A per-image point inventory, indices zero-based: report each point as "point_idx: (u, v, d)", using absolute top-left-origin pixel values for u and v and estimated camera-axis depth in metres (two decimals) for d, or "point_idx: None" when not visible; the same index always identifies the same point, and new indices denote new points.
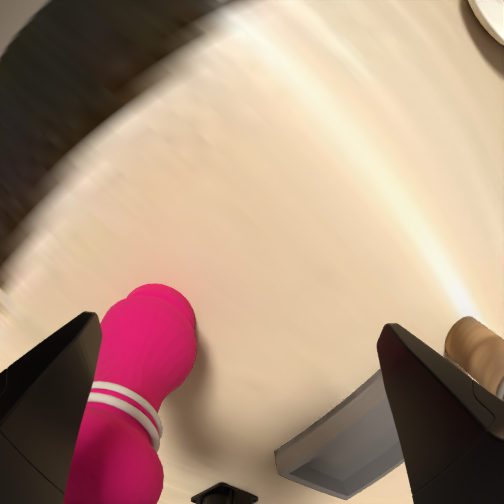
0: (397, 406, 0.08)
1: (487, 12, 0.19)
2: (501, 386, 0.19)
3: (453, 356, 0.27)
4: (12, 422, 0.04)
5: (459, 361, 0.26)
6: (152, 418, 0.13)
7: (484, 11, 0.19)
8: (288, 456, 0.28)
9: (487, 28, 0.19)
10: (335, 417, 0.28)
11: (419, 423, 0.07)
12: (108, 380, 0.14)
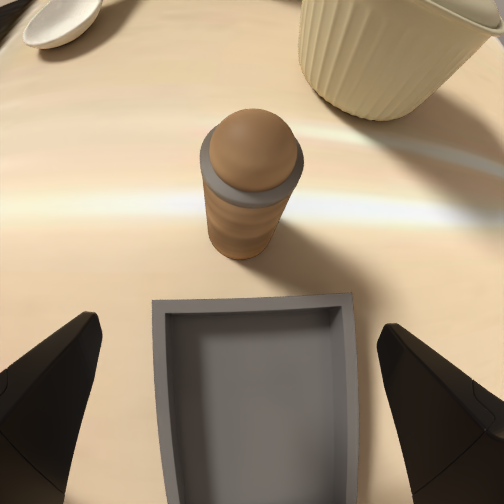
0: (397, 406, 0.08)
1: (59, 35, 0.29)
2: (209, 186, 0.14)
3: (233, 252, 0.22)
4: (11, 422, 0.04)
5: (231, 246, 0.21)
6: None
7: None
8: None
9: (51, 45, 0.27)
10: None
11: (419, 423, 0.07)
12: None
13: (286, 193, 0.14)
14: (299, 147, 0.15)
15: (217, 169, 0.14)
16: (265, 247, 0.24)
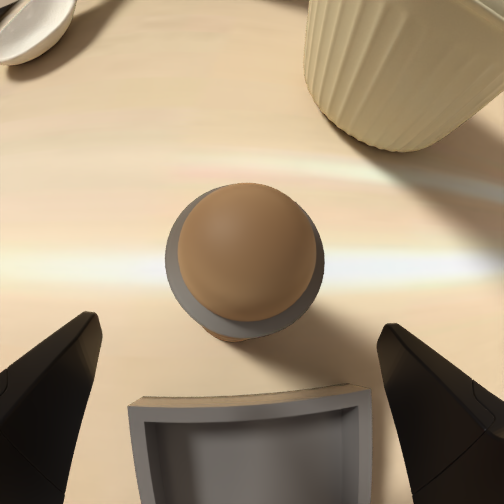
0: (397, 406, 0.08)
1: None
2: None
3: (225, 339, 0.17)
4: (12, 422, 0.04)
5: (222, 338, 0.16)
6: None
7: None
8: None
9: (16, 61, 0.22)
10: None
11: (419, 423, 0.07)
12: None
13: (298, 318, 0.09)
14: (317, 237, 0.10)
15: (190, 290, 0.09)
16: None
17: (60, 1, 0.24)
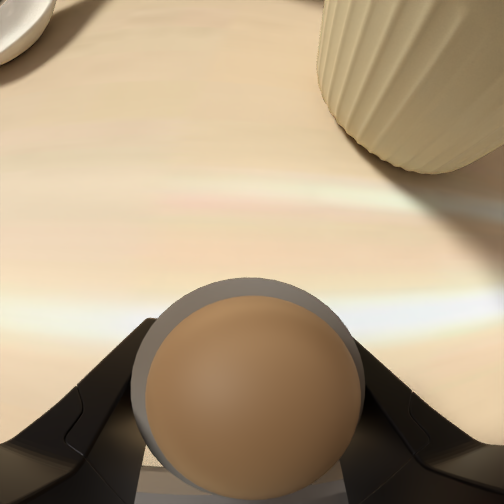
0: None
1: None
2: None
3: None
4: (94, 446, 0.05)
5: None
6: None
7: None
8: None
9: None
10: None
11: None
12: None
13: None
14: (358, 359, 0.06)
15: None
16: None
17: None
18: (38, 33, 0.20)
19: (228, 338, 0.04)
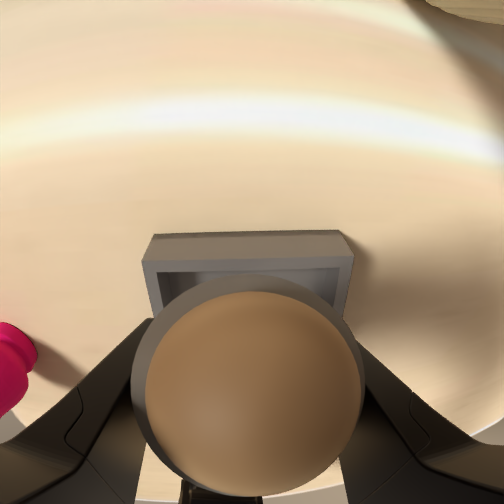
0: None
1: None
2: None
3: None
4: (94, 446, 0.05)
5: None
6: None
7: None
8: None
9: None
10: None
11: (353, 435, 0.07)
12: None
13: None
14: (358, 355, 0.06)
15: None
16: None
17: None
18: None
19: (228, 332, 0.04)
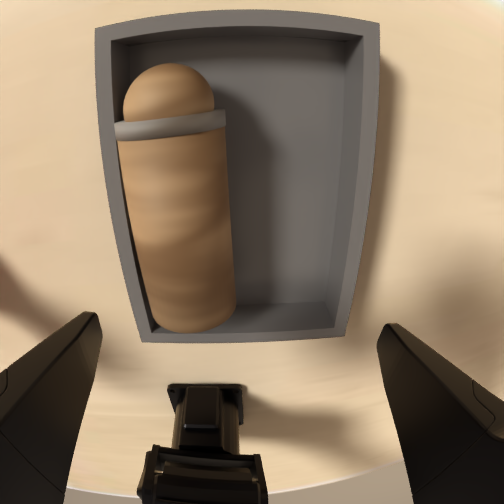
0: (397, 406, 0.08)
1: None
2: None
3: (146, 291, 0.16)
4: (11, 422, 0.04)
5: (141, 270, 0.15)
6: None
7: None
8: None
9: None
10: None
11: (419, 423, 0.07)
12: None
13: (142, 124, 0.11)
14: (210, 113, 0.12)
15: None
16: (189, 331, 0.16)
17: None
18: None
19: None
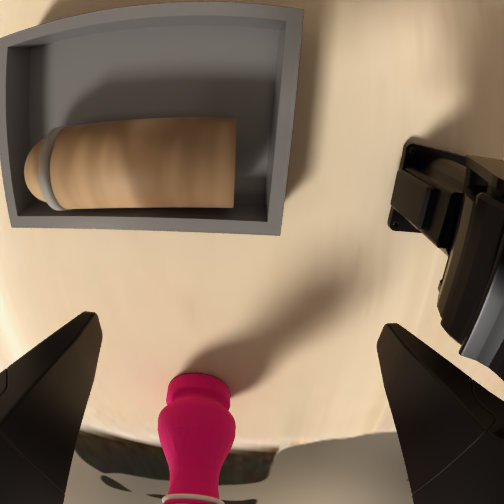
0: (397, 406, 0.08)
1: None
2: None
3: (200, 205, 0.16)
4: (12, 422, 0.04)
5: (176, 206, 0.16)
6: (164, 502, 0.18)
7: None
8: None
9: None
10: None
11: (419, 423, 0.07)
12: None
13: (41, 183, 0.14)
14: (47, 136, 0.14)
15: None
16: (232, 165, 0.14)
17: None
18: None
19: None
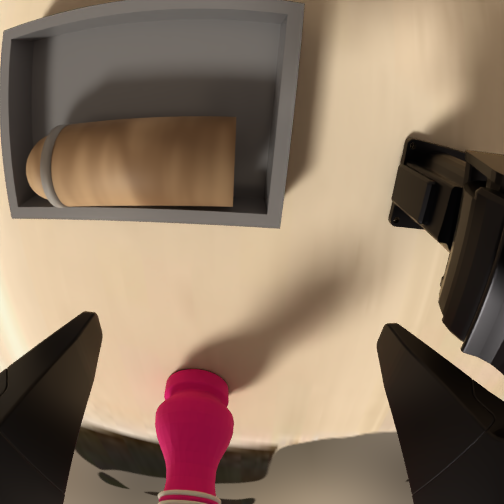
0: (397, 406, 0.08)
1: None
2: None
3: (200, 205, 0.17)
4: (12, 422, 0.04)
5: (177, 205, 0.17)
6: (160, 498, 0.18)
7: None
8: None
9: None
10: None
11: (419, 423, 0.07)
12: None
13: (44, 187, 0.14)
14: (46, 138, 0.14)
15: None
16: (231, 172, 0.14)
17: None
18: None
19: None
